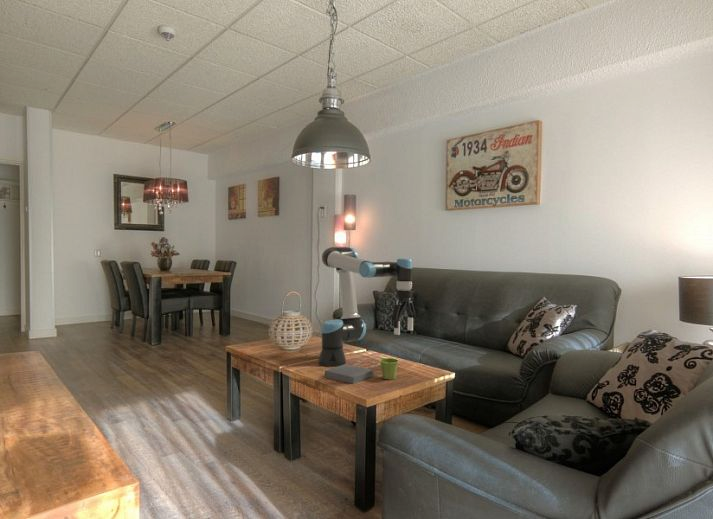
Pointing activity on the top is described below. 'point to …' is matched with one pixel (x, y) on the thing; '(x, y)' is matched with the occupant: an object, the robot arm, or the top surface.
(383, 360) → the plant pot
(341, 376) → the board
